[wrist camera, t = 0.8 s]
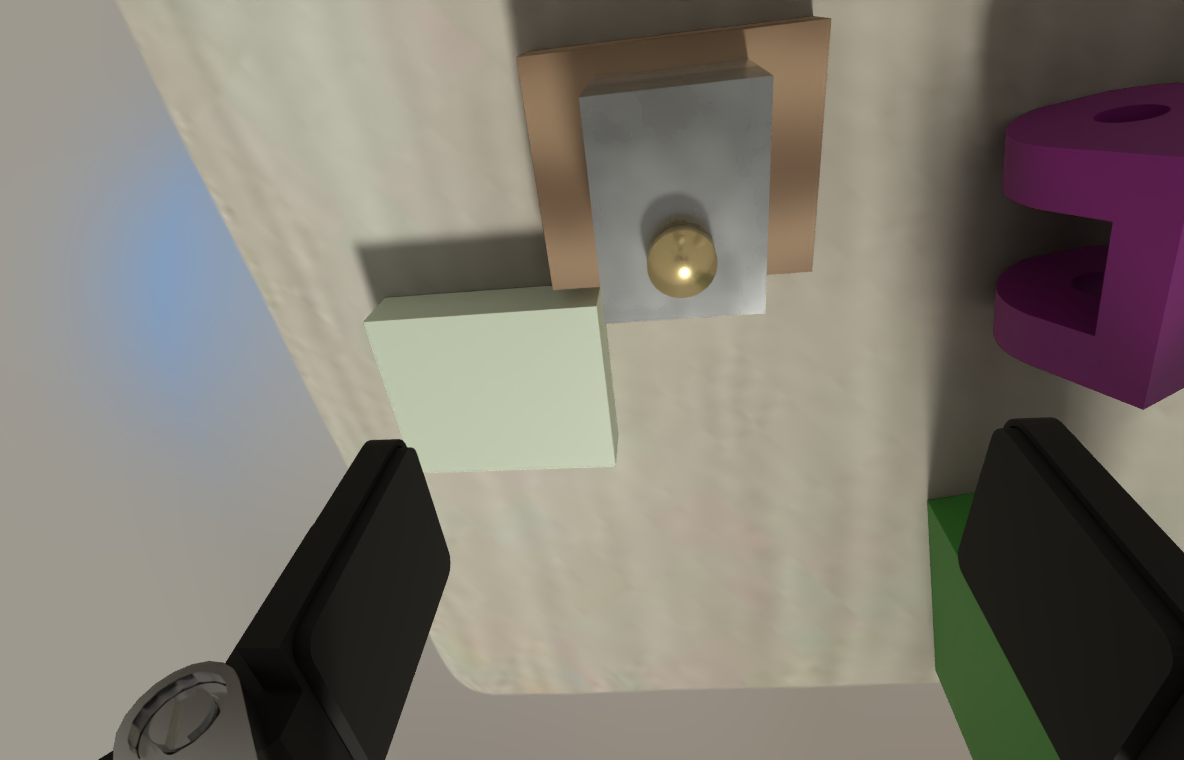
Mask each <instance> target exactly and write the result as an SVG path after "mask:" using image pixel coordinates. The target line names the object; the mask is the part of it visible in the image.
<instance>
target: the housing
mask: <svg viewBox="0 0 1184 760" xmlns="http://www.w3.org/2000/svg"><path fill="white" fill-rule="evenodd" d="M773 79H774V75H772V74H771V73H769V72H768V71H766V70H765V69H763V68H762V67H760V66H759V65H757V64H756V63H754V62H753V61H751V60H750V59H748V58H746V59H738V60H729V61H721V62H712V63H704V64H695V65H686V66H678V67H669V68H661V69H652V70H644V71H635V72H627V73H618V74H609V75H601V76H594V77H593V79H592V80H591V81H590V83H589V84H588V85H587V87H586V88H585V90H584V91H583V92H582V94H581V95H580V96H579V104H580V113H581V121H582V130H583V139H584V148H585V156H586V165H587V174H588V183H589V191H590V200H591V209H592V218H593V227H594V235H595V244H596V253H597V262H598V270H599V279H600V288H601V297H602V306H603V314H604V323H605V324H608V323H623V322H639V321H654V320H670V319H686V318H701V317H717V316H732V315H748V314H763V313H765V305H766V277H767V248H768V220H769V192H770V163H771V135H772V107H773Z"/></svg>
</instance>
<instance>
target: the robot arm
mask: <svg viewBox="0 0 1184 760" xmlns="http://www.w3.org/2000/svg"><path fill="white" fill-rule="evenodd" d="M958 563H959V567H960V570H961V572H962V575H963V577H964V578H965V580H966V582H967V584H968V586H969V588H970V590H971V592H972V594H973V596H974V597H975V599H976V601H977V603H978V605H979V607H980V609H981V611H982V613H983V614H984V616H985V618H986V620H987V622H988V624H989V626H990V628H991V630H992V632H993V633H994V635H995V637H996V639H997V641H998V643H999V645H1000V647H1001V649H1002V650H1003V652H1004V654H1005V656H1006V658H1007V660H1008V662H1009V664H1010V666H1011V667H1012V669H1013V671H1014V673H1015V675H1016V677H1017V679H1018V681H1019V683H1020V685H1021V686H1022V688H1023V690H1024V692H1025V694H1026V696H1027V698H1028V700H1029V702H1030V703H1031V705H1032V707H1033V709H1034V711H1035V713H1036V715H1037V717H1038V719H1039V721H1040V722H1041V724H1042V726H1043V728H1044V730H1045V732H1046V734H1047V736H1048V738H1049V739H1050V741H1051V743H1052V745H1053V747H1054V749H1055V751H1056V753H1057V755H1058V757H1059V758H1060V760H1184V552H1183V551H1182V550H1181V549H1180V548H1179V547H1178V546H1177V545H1176V544H1175V543H1174V542H1173V541H1172V540H1171V539H1170V537H1169V536H1168V535H1167V534H1166V533H1165V532H1164V531H1163V530H1162V529H1161V528H1160V527H1159V526H1158V525H1157V524H1156V523H1155V522H1154V520H1153V519H1152V518H1151V517H1150V516H1149V515H1148V514H1147V513H1146V512H1145V511H1144V510H1143V509H1142V508H1141V507H1140V506H1139V504H1138V503H1137V502H1136V501H1135V500H1134V499H1133V498H1132V497H1131V496H1130V495H1129V494H1128V493H1127V492H1126V491H1125V490H1124V489H1123V487H1122V486H1121V485H1120V484H1119V483H1118V482H1117V481H1116V480H1115V479H1114V478H1113V477H1112V476H1111V475H1110V474H1109V473H1108V471H1107V470H1106V469H1105V468H1104V467H1103V466H1102V465H1101V464H1100V463H1099V462H1098V461H1097V460H1096V459H1095V458H1094V457H1093V455H1092V454H1091V453H1090V452H1089V451H1088V450H1087V449H1086V448H1085V447H1084V446H1083V445H1082V444H1081V443H1080V442H1079V441H1078V440H1077V438H1076V437H1075V436H1074V435H1073V434H1072V433H1071V432H1070V431H1069V430H1068V429H1067V428H1066V427H1065V426H1064V425H1063V424H1062V423H1061V422H1060V421H1059V420H1057V419H1055V418H1051V417H1049V418H1019V419H1011V420H1009V421H1008V422H1007V423H1006V424H1005V426H1004V428H1001V429H996V430H995V431H994V433H993V435H992V437H991V441H990V444H989V447H988V451H987V454H986V458H985V461H984V464H983V468H982V471H981V474H980V478H979V481H978V484H977V488H976V491H975V494H974V498H973V501H972V505H971V508H970V511H969V515H968V518H967V521H966V525H965V528H964V531H963V535H962V538H961V542H960V545H959V549H958ZM449 572H450V555H449V551H448V548H447V545H446V542H445V539H444V535H443V532H442V529H441V526H440V523H439V520H438V517H437V514H436V511H435V508H434V504H433V501H432V498H431V495H430V492H429V489H428V486H427V483H426V480H425V476H424V473H423V470H422V467H421V464H420V461H419V458H418V455H417V452H416V450H415V449H414V448H412V447H407V445H406V443H405V442H404V441H403V440H400V439H392V440H370V441H367V442H366V443H365V444H364V445H363V447H362V448H361V450H360V451H359V453H358V455H357V456H356V458H355V459H354V461H353V463H352V464H351V466H350V467H349V469H348V471H347V472H346V474H345V475H344V477H343V479H342V480H341V482H340V483H339V485H338V487H337V488H336V490H335V491H334V493H333V495H332V496H331V498H330V499H329V501H328V502H327V504H326V506H325V507H324V509H323V510H322V512H321V514H320V515H319V517H318V518H317V520H316V522H315V523H314V524H313V526H312V527H311V528H310V530H309V531H308V533H307V534H306V536H305V537H304V539H303V541H302V543H301V544H300V545H299V547H298V549H297V550H296V552H295V553H294V555H293V557H292V558H291V560H290V561H289V563H288V564H287V566H286V568H285V569H284V571H283V572H282V574H281V576H280V577H279V579H278V580H277V582H276V583H275V585H274V587H273V588H272V590H271V592H270V593H269V595H268V596H267V598H266V599H265V601H264V602H263V604H262V606H261V607H260V609H259V610H258V613H257V614H256V615H255V617H254V619H253V620H252V622H251V623H250V625H249V626H248V628H247V629H246V631H245V633H244V634H243V636H242V637H241V639H240V641H239V642H238V644H237V645H236V647H235V649H234V650H233V652H232V653H231V655H230V656H229V658H228V660H227V661H226V663H222V662H213V661H207V662H201V663H196V664H192V665H190V666H187V667H185V668H182V669H180V670H177V671H175V672H173V673H171V674H170V675H168V676H167V677H165V678H164V679H162V680H160V681H159V682H157V683H156V684H155V685H153V686H152V687H151V688H150V689H149V690H148V691H147V692H146V693H145V694H143V695H142V696H141V697H140V698H139V699H138V700H137V701H136V703H135V704H134V705H133V706H132V708H131V709H130V710H129V711H128V713H127V714H126V715H125V717H124V719H123V721H122V723H121V725H120V727H119V729H118V731H117V732H116V737H115V742H114V748H113V751H112V752H110V753H108V754H107V755H105V756H104V757H102V758H100V759H99V760H385V758H386V755H387V753H388V750H389V747H390V744H391V741H392V738H393V735H394V733H395V730H396V727H397V724H398V721H399V718H400V715H401V712H402V709H403V706H404V704H405V701H406V698H407V695H408V692H409V689H410V686H411V683H412V680H413V677H414V675H415V672H416V669H417V665H418V663H419V660H420V657H421V654H422V651H423V648H424V646H425V643H426V640H427V637H428V634H429V631H430V628H431V625H432V622H433V620H434V617H435V614H436V611H437V608H438V605H439V602H440V599H441V596H442V593H443V591H444V588H445V585H446V582H447V579H448V576H449Z"/></svg>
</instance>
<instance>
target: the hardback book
mask: <svg viewBox="0 0 1184 760" xmlns="http://www.w3.org/2000/svg"><path fill="white" fill-rule="evenodd" d="M974 494H975V493H971V494H964V495H958V496H951V497H945V498H938V499H932V500H927V506H928V526H929V546H930V567H931V587H932V607H933V627H934V648H935V668H936V672H937V675H938V677H939V679H940V682H941V684H942V687H943V689H944V691H945V694H946V696H947V699H948V701H949V703H950V706H951V708H952V710H953V713H954V715H955V718H956V720H957V723H958V725H959V727H960V730H961V732H962V735H963V737H964V739H965V742H966V744H967V747H968V749H969V751H970V754H971V756H972V758H973V760H1060V758H1059V757H1058V755H1057V753H1056V751H1055V749H1054V747H1053V745H1052V743H1051V741H1050V739H1049V738H1048V736H1047V734H1046V732H1045V730H1044V728H1043V726H1042V724H1041V722H1040V721H1039V719H1038V717H1037V715H1036V713H1035V711H1034V709H1033V707H1032V705H1031V703H1030V702H1029V700H1028V698H1027V696H1026V694H1025V692H1024V690H1023V688H1022V686H1021V685H1020V683H1019V681H1018V679H1017V677H1016V675H1015V673H1014V671H1013V669H1012V667H1011V666H1010V664H1009V662H1008V660H1007V658H1006V656H1005V654H1004V652H1003V650H1002V649H1001V647H1000V645H999V643H998V641H997V639H996V637H995V635H994V633H993V632H992V630H991V628H990V626H989V624H988V622H987V620H986V618H985V616H984V614H983V613H982V611H981V609H980V607H979V605H978V603H977V601H976V599H975V597H974V596H973V594H972V592H971V590H970V588H969V586H968V584H967V582H966V580H965V578H964V577H963V575H962V572H961V570H960V567H959V563H958V549H959V545H960V542H961V538H962V535H963V531H964V528H965V525H966V521H967V518H968V515H969V511H970V508H971V505H972V501H973V498H974Z"/></svg>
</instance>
